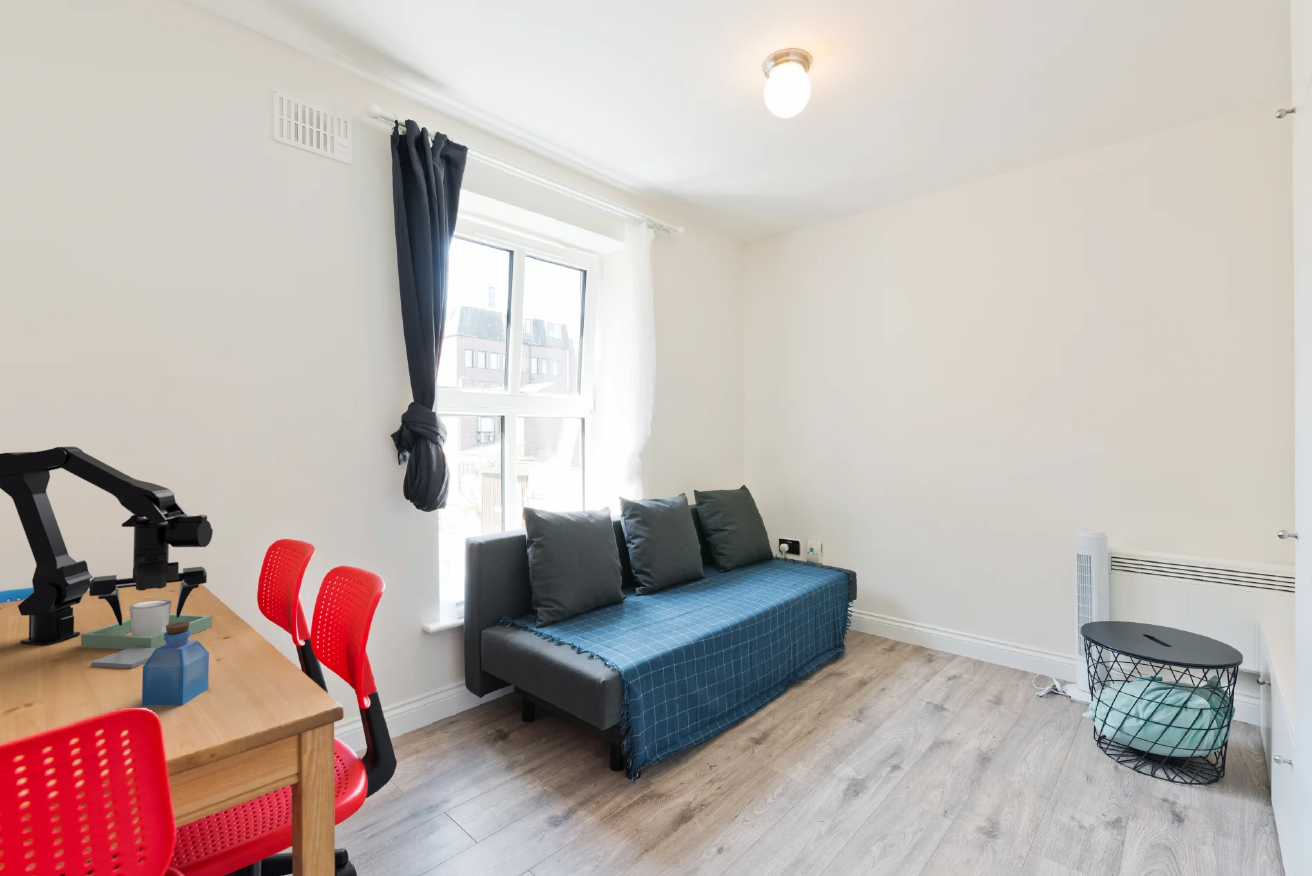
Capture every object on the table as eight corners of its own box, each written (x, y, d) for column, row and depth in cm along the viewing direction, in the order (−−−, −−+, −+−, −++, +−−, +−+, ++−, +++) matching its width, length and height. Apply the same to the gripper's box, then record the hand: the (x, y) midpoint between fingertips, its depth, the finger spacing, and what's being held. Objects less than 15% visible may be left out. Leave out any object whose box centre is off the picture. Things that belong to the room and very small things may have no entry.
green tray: (80, 646, 121) (81, 634, 121) (149, 623, 136) (149, 612, 136) (150, 650, 119) (151, 638, 119) (212, 626, 134) (212, 615, 134)
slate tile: (91, 666, 111) (91, 662, 111) (132, 650, 119) (132, 646, 119) (131, 668, 111) (131, 664, 111) (169, 653, 119) (170, 648, 119)
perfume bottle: (169, 689, 103) (171, 619, 103) (208, 688, 103) (209, 619, 103) (141, 705, 97) (143, 630, 96) (182, 705, 97) (184, 630, 97)
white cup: (146, 643, 123) (147, 609, 123) (119, 640, 125) (120, 606, 125) (179, 632, 130) (179, 600, 130) (153, 630, 132) (154, 598, 132)
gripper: (88, 559, 115) (86, 640, 115) (209, 549, 127) (208, 622, 127) (91, 549, 124) (90, 625, 124) (205, 541, 136) (203, 610, 136)
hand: (149, 621), depth 127 cm, fingers open, 9 cm apart
